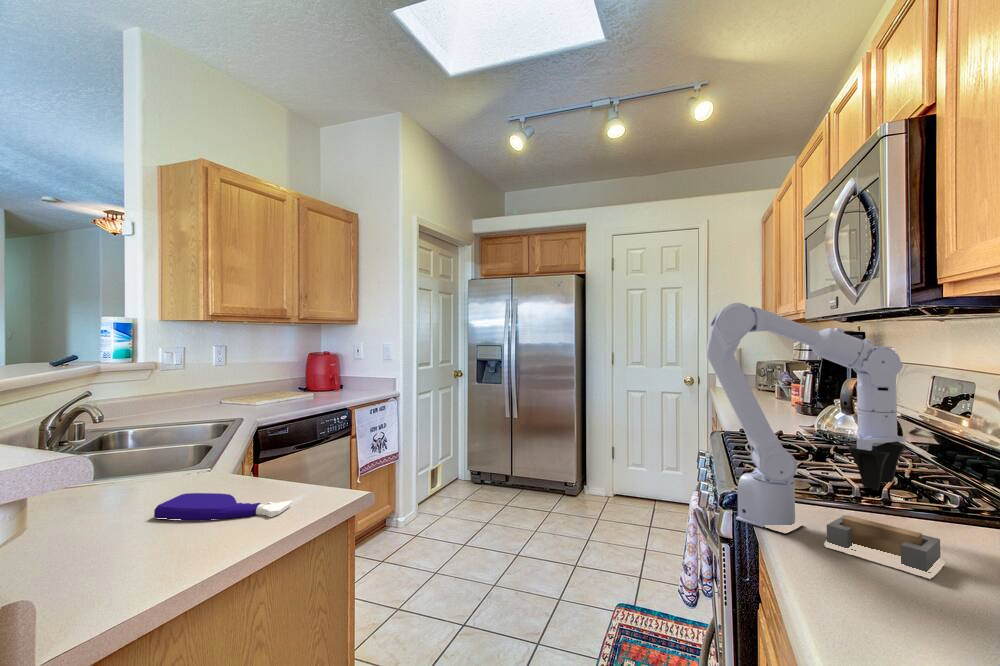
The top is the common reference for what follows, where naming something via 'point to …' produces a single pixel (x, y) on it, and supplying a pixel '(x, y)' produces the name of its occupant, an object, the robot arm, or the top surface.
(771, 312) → the robot arm
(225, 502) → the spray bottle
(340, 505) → the top surface
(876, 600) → the top surface
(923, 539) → the end caps
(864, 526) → the slat
